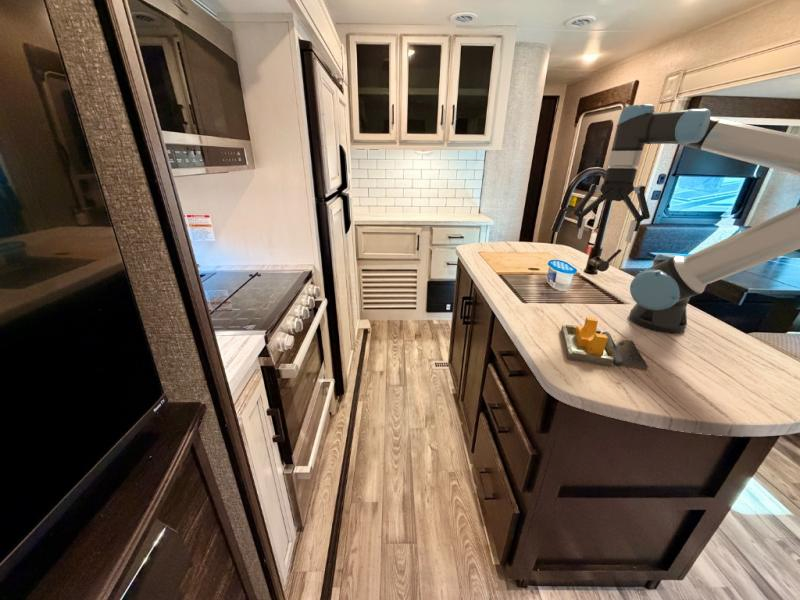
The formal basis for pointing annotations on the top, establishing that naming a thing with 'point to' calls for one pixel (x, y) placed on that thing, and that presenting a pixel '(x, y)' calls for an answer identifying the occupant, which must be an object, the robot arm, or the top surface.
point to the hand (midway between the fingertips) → (603, 240)
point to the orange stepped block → (591, 337)
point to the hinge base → (617, 348)
